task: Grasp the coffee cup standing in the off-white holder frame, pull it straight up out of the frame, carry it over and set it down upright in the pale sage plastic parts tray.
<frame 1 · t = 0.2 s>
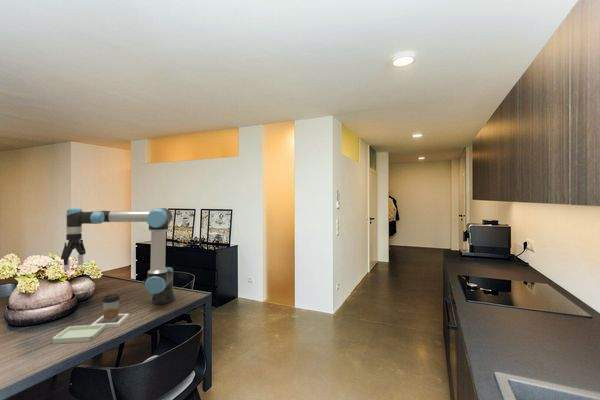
hand: (73, 267, 178), 28 cm above the table, fingers open, 13 cm apart
holder: (110, 322, 164), on the table
coffee cup: (110, 322, 164), resting in holder
tray: (79, 335, 148), on the table
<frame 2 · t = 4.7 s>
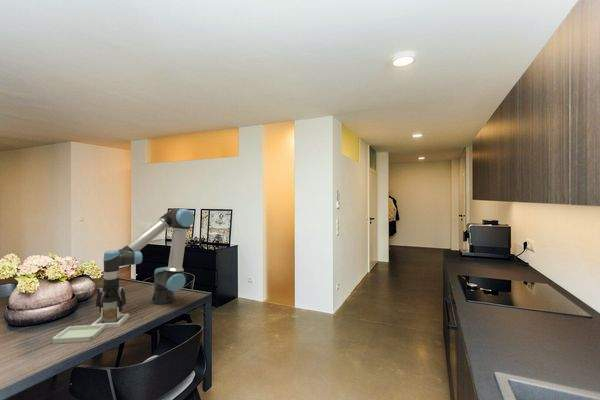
hand: (110, 317, 164), 3 cm above the table, fingers closed on coffee cup, 7 cm apart
coffee cup: (110, 322, 164), resting in holder, touching gripper
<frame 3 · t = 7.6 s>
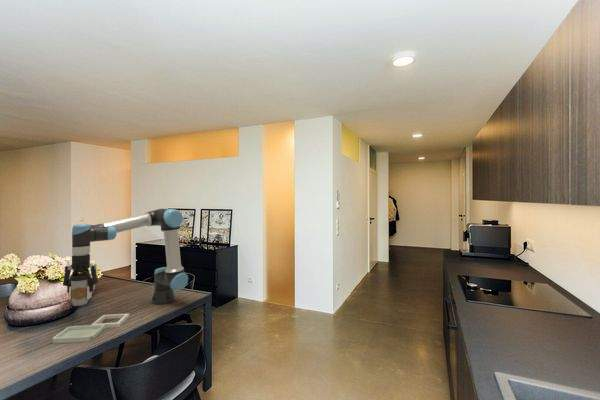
hand: (80, 298, 148), 19 cm above the table, fingers closed on coffee cup, 7 cm apart
coffee cup: (80, 303, 148), point 16 cm above the table, touching gripper
when the fingers open (5 cm above the table, at t = 10.6 s): coffee cup drops 2 cm, resting on tray.
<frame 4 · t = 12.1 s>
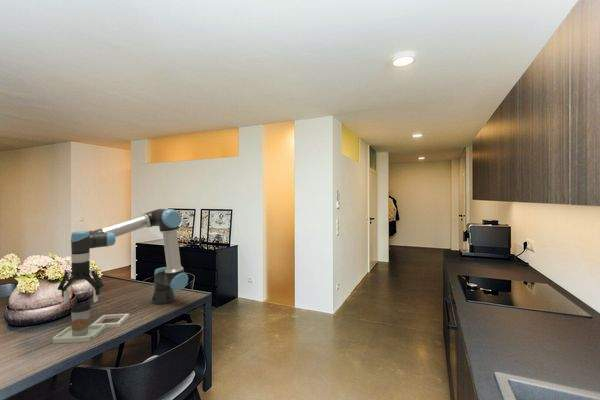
hand: (81, 302, 148), 17 cm above the table, fingers open, 13 cm apart
coffee cup: (80, 334, 148), resting on tray
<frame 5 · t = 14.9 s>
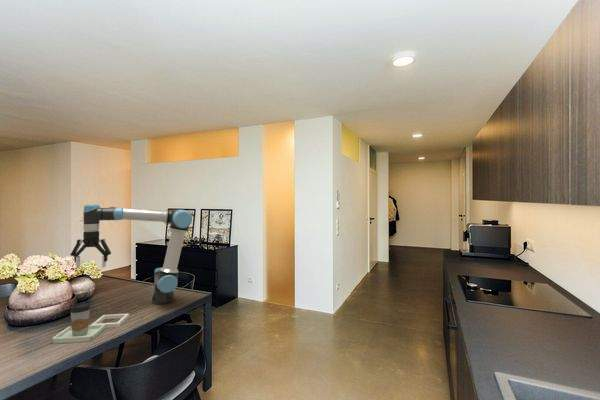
hand: (91, 267, 166), 31 cm above the table, fingers open, 13 cm apart
nothing on the table moved.
at the end: coffee cup inside the target area on the tray (0.3 cm from its centre), point 0.4 cm above the tray's base; coffee cup tilted 0°; the gripper is holding nothing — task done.
